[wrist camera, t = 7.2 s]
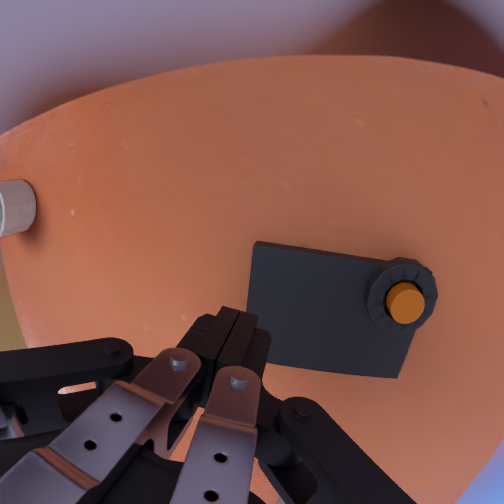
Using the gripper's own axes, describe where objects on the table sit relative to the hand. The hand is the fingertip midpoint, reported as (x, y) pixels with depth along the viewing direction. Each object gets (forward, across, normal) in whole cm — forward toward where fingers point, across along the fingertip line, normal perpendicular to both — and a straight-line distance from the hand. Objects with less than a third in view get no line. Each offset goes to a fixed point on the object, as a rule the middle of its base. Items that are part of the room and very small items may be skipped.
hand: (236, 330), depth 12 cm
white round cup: (+13, +29, +2) cm, 32 cm away
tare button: (+10, -10, 0) cm, 14 cm away
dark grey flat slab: (+12, -6, +4) cm, 14 cm away
